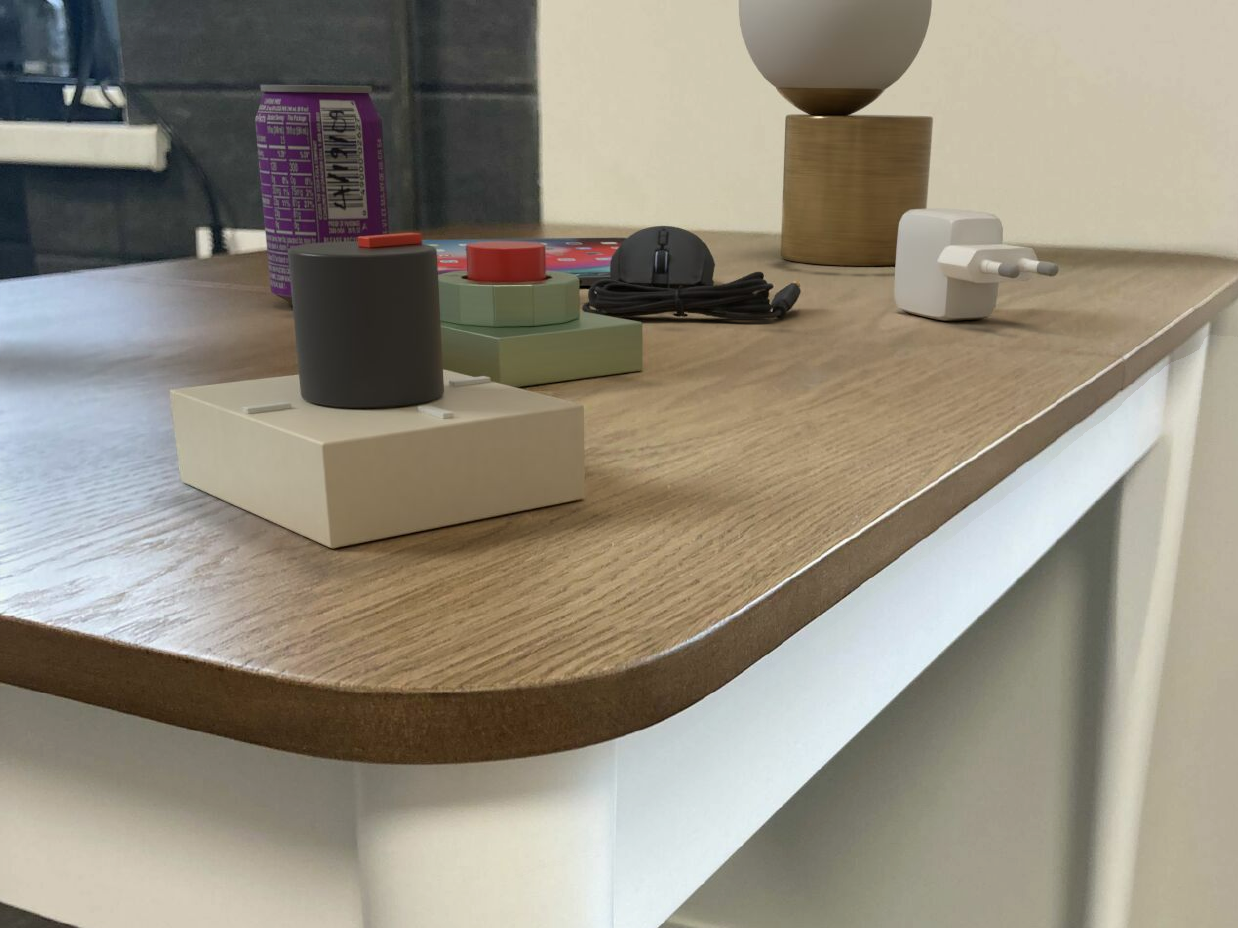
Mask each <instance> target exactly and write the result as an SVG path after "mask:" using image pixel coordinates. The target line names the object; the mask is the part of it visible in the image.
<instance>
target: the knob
mask: <svg viewBox="0 0 1238 928" xmlns="http://www.w3.org/2000/svg"><path fill="white" fill-rule="evenodd" d="M422 240H423V233H419V232H403V233H402V232H398V233H389V234H385V235H373V236H360V237H358V241H348V242H325V243H312V244H304V245H298V246H294V247H291V248H289V250H288V259H289V270H290V281H291V292H292V303H293V305H292V311H293V312H292V313H293V324H294V325H293V326H294V335H295V346H296V356H297V369H298V375H299V380H300V391H301V396H302V398H303V399H304V400H306V401H309V402H312V403H315V404H319V405H325V406H333V407H346V408H383V407H397V406H406V405H413V404H419V403H424V402H428V401H431V400H434V399H437V398H439V397H441V396H442V395H443V393H444V380H443V361H442V342H441V322H440V303H439V284H438V265H437V250H436V248H435V247H433V246H430V245H425V244H422Z"/></svg>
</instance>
